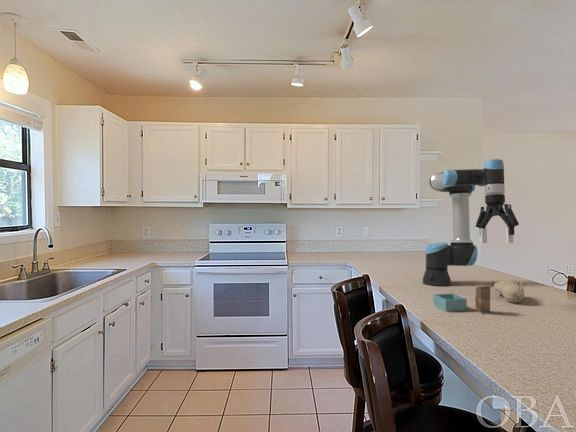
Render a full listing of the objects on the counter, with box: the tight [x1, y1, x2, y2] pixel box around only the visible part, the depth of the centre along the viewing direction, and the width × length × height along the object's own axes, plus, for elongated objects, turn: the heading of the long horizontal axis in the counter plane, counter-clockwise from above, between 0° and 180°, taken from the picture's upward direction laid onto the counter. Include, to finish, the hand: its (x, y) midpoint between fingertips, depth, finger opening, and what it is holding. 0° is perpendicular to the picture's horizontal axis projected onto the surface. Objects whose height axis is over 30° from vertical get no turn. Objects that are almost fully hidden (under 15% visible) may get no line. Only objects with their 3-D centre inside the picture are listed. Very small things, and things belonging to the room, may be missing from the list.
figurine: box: [490, 280, 525, 304], centre depth 173 cm, size 12×9×30 cm
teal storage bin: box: [432, 293, 468, 312], centre depth 155 cm, size 10×10×5 cm
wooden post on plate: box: [474, 284, 492, 315], centre depth 149 cm, size 4×4×11 cm
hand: (496, 243), depth 154 cm, fingers open, 13 cm apart
